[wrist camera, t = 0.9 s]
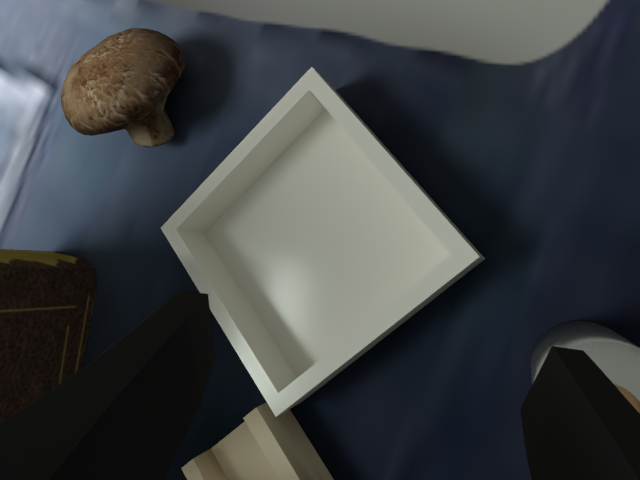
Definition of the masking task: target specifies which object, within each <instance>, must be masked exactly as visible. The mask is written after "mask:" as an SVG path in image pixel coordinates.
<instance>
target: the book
mask: <svg viewBox="0 0 640 480" xmlns="http://www.w3.org/2000/svg"><path fill="white" fill-rule="evenodd" d="M96 290H97V287H96V278H95V269H94V268H93V267H92V266H91V265H90V264H89V263H88V262H87V261H86V260H85V259H84V258H81V257H77V256H73V255H69V254H66V253H62V252H52V251H30V250H8V249H0V423H1V422H3V421H5V420H6V419H8V418H10V417H11V416H13V415H14V414H16V413H18V412H19V411H21V410H22V409H24V408H25V407H27V406H28V405H30V404H31V403H33V402H34V401H36V400H37V399H39V398H40V397H42V396H43V395H45V394H46V393H48V392H49V391H51V390H52V389H53V388H55V387H56V386H58V385H59V384H60V383H62V382H63V381H64V380H66V379H67V378H69V377H70V376H71V375H73V374H74V373H76V372H77V371H78V370H80V369H81V368H83V365H84V359H85V353H86V347H87V342H88V336H89V330H90V324H91V319H92V313H93V307H94V301H95V296H96Z"/></svg>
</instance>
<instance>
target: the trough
mask: <svg viewBox="0 0 640 480" xmlns="http://www.w3.org/2000/svg"><path fill="white" fill-rule="evenodd" d="M243 419H244V420H245V421H244V422H243V423H242V424H241V425H240V426H238V427H237V428H236V429H235V430H233V431H232V432H231V433H230V434H228V435H227V436H226V437H225V438H223V439H222V440H221V441H220V442H218V443H217V444H216V445H215V446H213V447H212V448H211V449H209V450H207V451H206V452H204V453H202V454H200V455H199V456H197V457H195V458H193V459H192V460H191V461H189V462H188V463H187V464H186V465H185V466H183V467H182V468H181V469H182V471H183V473H184V475H185V477H186V479H187V480H334V479H333V477H332V476H331V474H330V473H329V471H328V469H327V468H326V466H325V465H324V463H323V461H322V460H321V458H320V457H319V455H318V453H317V452H316V450H315V449H314V447H313V445H312V444H311V442H310V441H309V439H308V437H307V436H306V434H305V433H304V431H303V429H302V428H301V426H300V425H299V423H298V421H297V420H296V418H295V417H294V415H293V413H292V412H291V410H290V409H289V410H287V411H285V412H284V413H282V414H280V415H279V416H277V417H275V415H274V413H273V412H272V410H271V408H270V407H269V405H268V403H267V402H266V403H264V404H262V405H260V406H258V407H256V408H255V409H254V410H252V411H251V412H250V413H249V414H247V415H246V416H245V417H244V418H243Z"/></svg>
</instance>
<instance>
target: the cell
mask: <svg viewBox="0 0 640 480" xmlns="http://www.w3.org/2000/svg"><path fill="white" fill-rule="evenodd" d="M552 346H556V347H563V348H570V349H576V350H583V351H584V352H585V353H586V354H587V355H588V356H589V357H590V358H591V359H592V360H593V361H594V362H595V364H596V365H597V366H598V367H599V368H600V369H601V370H602V371H603V372H604V374H605V375H606V376H607V377H608V378H609V379H610V380H611V382H612V383H613V384H614V385H615V386H616V387H617V388H618V390H619V391H620V392H621V393H622V394H623V395H624V396H625V398H626V399H627V400H628V401H629V402H630V403H631V404H632V405H633V407H634V408H635V409H636V410H637V411H638V412H639V413H640V348H639V347H638V346H636V345H635V344H633V343H631V342H630V341H628V340H627V339H625V338H624V337H622V336H620V335H619V334H617V333H616V332H614V331H612V330H611V329H609V328H607V327H605V326H602V325H600V324H597V323H593V322H588V321H569V322H564V323H561V324H558V325H556V326H553V327H552V328H550V329H548V330H547V331H546V332H545V333H543V334H542V336H541V337H540V338H539V339H538V341H537V342H536V344H535V346H534V348H533V351H532V354H531V376H532V385H533V383H534V381H535V379H536V377H537V375H538V373H539V371H540V369H541V367H542V365H543V363H544V361H545V359H546V357H547V355H548V353H549V351H550V349H551V347H552Z"/></svg>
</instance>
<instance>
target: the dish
mask: <svg viewBox="0 0 640 480" xmlns="http://www.w3.org/2000/svg"><path fill="white" fill-rule="evenodd" d="M161 230H162V231H163V233H164V235H165V236H166V238H167V239H168V241H169V243H170V244H171V246H172V248H173V249H174V251H175V253H176V254H177V256H178V257H179V259H180V261H181V262H182V264H183V266H184V267H185V269H186V271H187V272H188V274H189V276H190V277H191V279H192V280H193V282H194V284H195V285H196V287H197V289H198V290H199V292H200V293H205V294H208V298H209V308H210V310H211V312H212V313H213V315H214V317H215V318H216V320H217V321H218V323H219V325H220V326H221V328H222V330H223V331H224V333H225V335H226V336H227V338H228V339H229V341H230V343H231V344H232V346H233V348H234V349H235V351H236V353H237V354H238V356H239V357H240V359H241V361H242V362H243V364H244V366H245V367H246V369H247V371H248V372H249V374H250V376H251V377H252V379H253V380H254V382H255V384H256V385H257V387H258V389H259V390H260V392H261V394H262V395H263V397H264V398H265V400H266V402H267V403H268V405H269V407H270V408H271V410H272V412H273V413H274V415H275V417H277V416H279V415H280V414H282V413H284V412H285V411H287V410H289V409H291V408H292V407H294V406H296V405H297V404H299V403H301V402H303V401H304V400H305V399H307V398H308V397H309V396H311V395H312V394H313V393H314V392H316V391H317V390H318V389H320V388H321V387H322V386H323V385H325V384H326V383H327V382H328V381H330V380H331V379H332V378H334V377H335V376H336V375H337V374H339V373H340V372H341V371H343V370H344V369H345V368H346V367H348V366H349V365H350V364H351V363H353V362H354V361H355V360H357V359H358V358H359V357H360V356H362V355H363V354H364V353H366V352H367V351H368V350H369V349H371V348H372V347H373V346H375V345H376V344H377V343H378V342H380V341H381V340H382V339H383V338H385V337H386V336H387V335H389V334H390V333H391V332H392V331H394V330H395V329H396V328H398V327H399V326H400V325H401V324H403V323H404V322H405V321H406V320H408V319H409V318H410V317H412V316H413V315H414V314H415V313H417V312H418V311H419V310H421V309H422V308H423V307H424V306H426V305H427V304H428V303H429V302H431V301H432V300H433V299H435V298H436V297H437V296H438V295H440V294H441V293H442V292H444V291H445V290H446V289H447V288H449V287H450V286H451V285H453V284H454V283H455V282H456V281H458V280H459V279H460V278H461V277H463V276H464V275H465V274H467V273H468V272H469V271H470V270H472V269H473V268H474V267H476V266H477V265H478V264H479V263H481V262H482V261H483V260H484V259H485V258H484V257H483V256H482V255H481V253H480V252H479V251H478V250H477V249H476V248H475V247H474V246H473V244H472V243H471V242H470V241H469V240H468V239H467V238H466V237H465V235H464V234H463V233H462V232H461V231H460V230H459V229H458V228H457V226H456V225H455V224H454V223H453V222H452V221H451V220H450V219H449V217H448V216H447V215H446V214H445V213H444V212H443V211H442V210H441V208H440V207H439V206H438V205H437V204H436V203H435V202H434V201H433V199H432V198H431V197H430V196H429V195H428V194H427V193H426V191H425V190H424V189H423V188H422V187H421V186H420V185H419V184H418V182H417V181H416V180H415V179H414V178H413V177H412V176H411V175H410V173H409V172H408V171H407V170H406V169H405V168H404V167H403V166H402V164H401V163H400V162H399V161H398V160H397V159H396V158H395V157H394V155H393V154H392V153H391V152H390V151H389V150H388V149H387V148H386V146H385V145H384V144H383V143H382V142H381V141H380V140H379V139H378V137H377V136H376V135H375V134H374V133H373V132H372V131H371V130H370V128H369V127H368V126H367V125H366V124H365V123H364V122H363V121H362V119H361V118H360V117H359V116H358V115H357V114H356V113H355V112H354V110H353V109H352V108H351V107H350V106H349V105H348V104H347V102H346V101H345V100H344V99H343V98H342V97H341V96H340V95H339V93H338V92H337V91H336V90H335V89H334V88H333V87H332V86H331V85H330V84H329V83H328V82H327V81H326V80H325V79H324V78H323V77H322V76H321V75H320V74H319V73H318V72H317V71H316V70H315V69H314V68H312V67H311V68H310V69H309V70H308V71H307V72H306V73H305V74H304V76H303V77H302V78H301V79H300V80H299V81H298V82H297V83H296V84H295V85H294V86H293V87H292V88H291V89H290V90H289V92H288V93H287V94H286V95H285V96H284V97H283V98H282V99H281V100H280V101H279V102H278V103H277V104H276V105H275V106H274V107H273V109H272V110H271V111H270V112H269V113H268V114H267V115H266V116H265V117H264V118H263V119H262V120H261V121H260V122H259V123H258V125H257V126H256V127H255V128H254V129H253V130H252V131H251V132H250V133H249V134H248V135H247V136H246V137H245V138H244V139H243V141H242V142H241V143H240V144H239V145H238V146H237V147H236V148H235V149H234V150H233V151H232V152H231V153H230V154H229V155H228V157H227V158H226V159H225V160H224V161H223V162H222V163H221V164H220V165H219V166H218V167H217V168H216V169H215V170H214V171H213V173H212V174H211V175H210V176H209V177H208V178H207V179H206V180H205V181H204V182H203V183H202V184H201V185H200V186H199V187H198V189H197V190H196V191H195V192H194V193H193V194H192V195H191V196H190V197H189V198H188V199H187V200H186V201H185V202H184V203H183V204H182V206H181V207H180V208H179V209H178V210H177V211H176V212H175V213H174V214H173V215H172V216H171V217H170V218H169V219H168V220H167V222H166V223H165V224H164V225H163V226H162V227H161Z"/></svg>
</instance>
